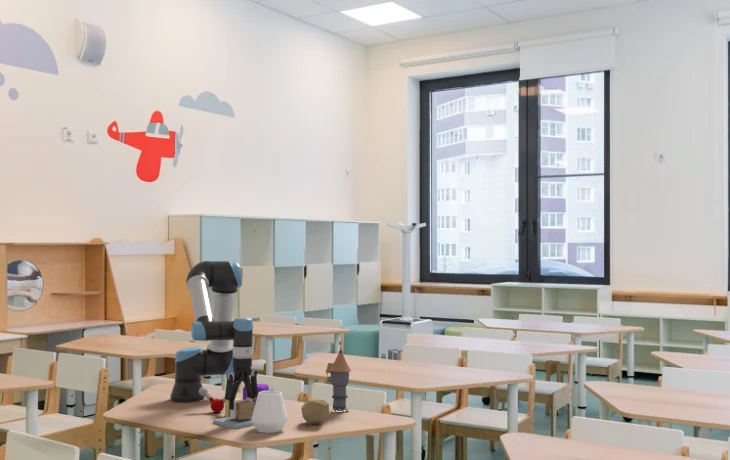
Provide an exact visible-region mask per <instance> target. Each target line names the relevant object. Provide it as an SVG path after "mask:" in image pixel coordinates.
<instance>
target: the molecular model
mask: <svg viewBox="0 0 730 460" xmlns="http://www.w3.org/2000/svg"><path fill="white" fill-rule="evenodd" d="M199 394H200V395H201V396H205V397H204V398H205V399H207V400H208V401H209V402H210V408H211V410H212V412H213V413H220V412H222V411H223V410H224V409H225V396H224V397H223V398H214V397H213V396H212V395H210V393H209V391H208V388H207V387H205V386H202V387H201V388H200V389H199Z"/></svg>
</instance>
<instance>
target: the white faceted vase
mask: <svg viewBox="0 0 730 460" xmlns="http://www.w3.org/2000/svg"><path fill="white" fill-rule="evenodd" d="M251 420H252V423H253V424H254V425H253V426H254V428H255V430H256V431H257V432H259V433H264V434H265V433H266V434H273V433H279V432H281V431H282V430H283V428H284V426H285V425H286V423H287V421H288V415H287V409H286V405H285V401H284V397H283V393H282V392H281V391H279V390H274V391H270V390H269V391H261V392H259V393H258V396H257V400H256V404H255V407H254V411H253V415H252V419H251Z"/></svg>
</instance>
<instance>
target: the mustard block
mask: <svg viewBox="0 0 730 460" xmlns="http://www.w3.org/2000/svg"><path fill="white" fill-rule="evenodd" d="M237 400H243V398H239V397H236V398H235V401H237ZM228 414H229V400H226V399H225V403H224V418H226V417H228Z"/></svg>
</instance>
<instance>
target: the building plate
mask: <svg viewBox="0 0 730 460" xmlns="http://www.w3.org/2000/svg"><path fill="white" fill-rule="evenodd" d="M251 419H252V418H248V419H242V420H238V419H234V418H230V417H221V418H215V419H213V420H212V422H213V424H217V425H220V426H223V427H227V428H231V429H235V430H237V429H242V428H247V427H251V426H254V424H253V423H252V420H251Z"/></svg>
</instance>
